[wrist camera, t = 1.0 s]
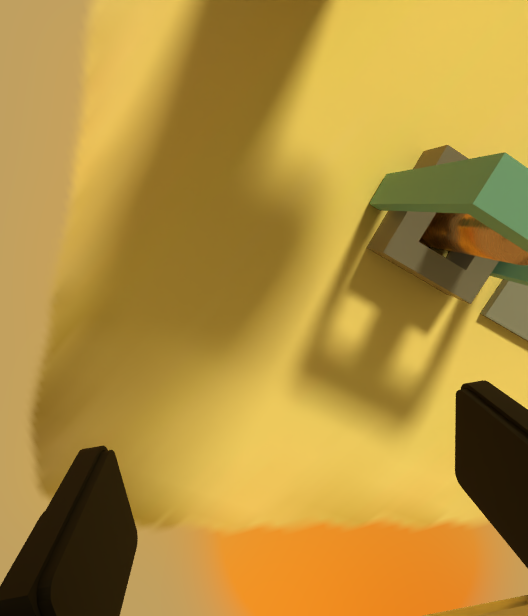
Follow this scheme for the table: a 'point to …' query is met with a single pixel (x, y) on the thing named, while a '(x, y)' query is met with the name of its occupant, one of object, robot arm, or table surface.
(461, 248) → the cylinder
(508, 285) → the mat
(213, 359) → the table surface
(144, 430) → the table surface
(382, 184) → the green arch
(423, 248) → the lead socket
